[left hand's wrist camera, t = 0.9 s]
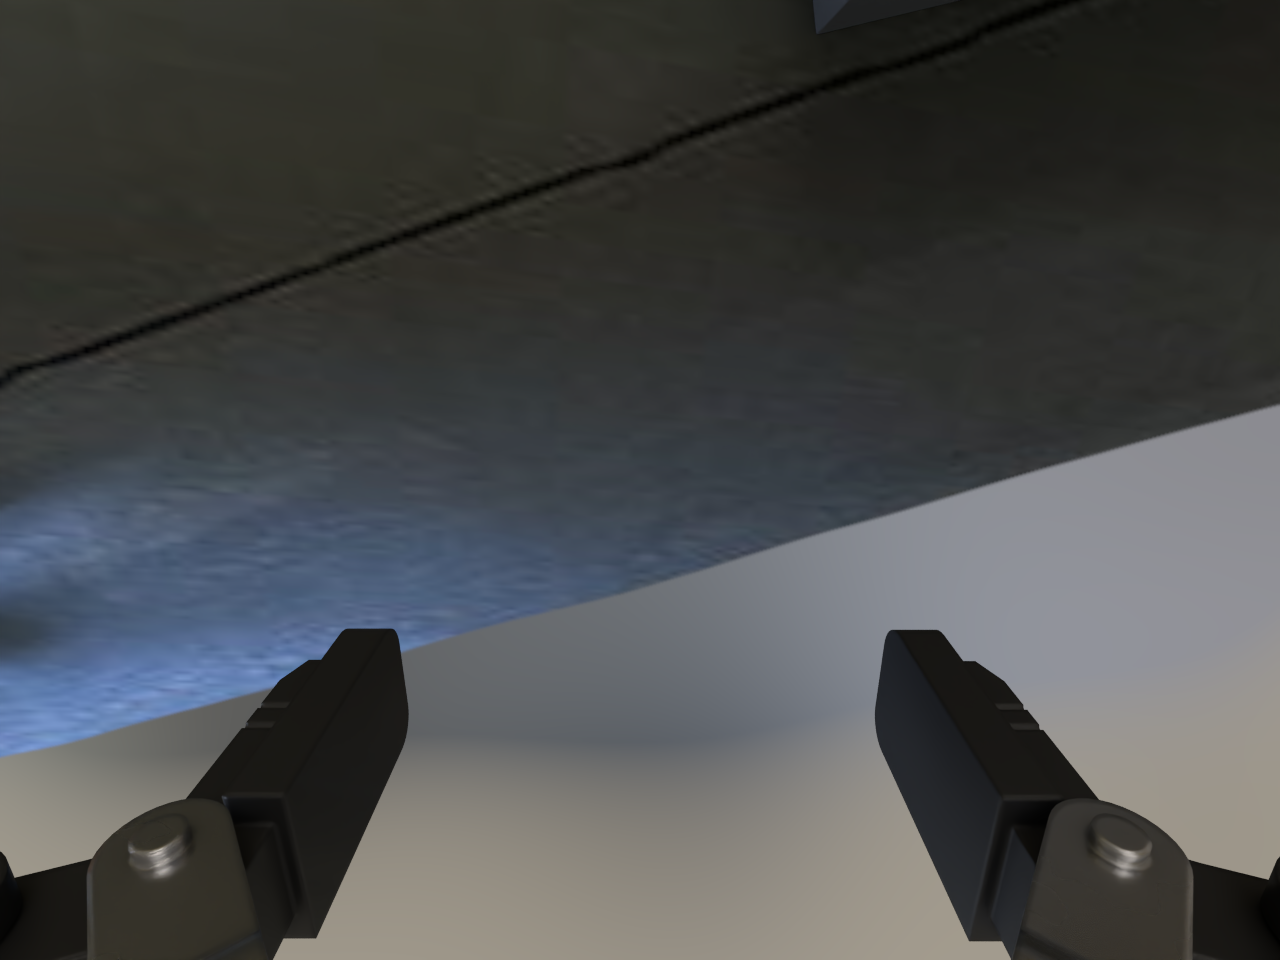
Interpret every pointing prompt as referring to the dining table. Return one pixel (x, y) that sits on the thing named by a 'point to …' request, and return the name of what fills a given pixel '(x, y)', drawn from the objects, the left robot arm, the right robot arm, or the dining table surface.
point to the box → (863, 11)
